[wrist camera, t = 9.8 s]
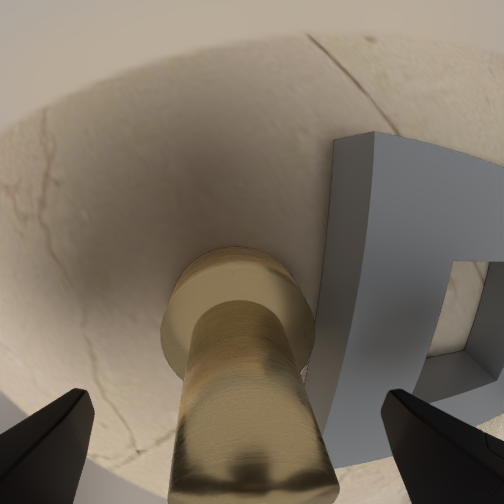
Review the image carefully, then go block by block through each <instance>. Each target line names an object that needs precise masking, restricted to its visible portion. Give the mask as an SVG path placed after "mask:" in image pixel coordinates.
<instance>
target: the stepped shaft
mask: <svg viewBox="0 0 504 504" xmlns="http://www.w3.org/2000/svg"><path fill="white" fill-rule="evenodd" d="M315 335H316V330H315V322H314V317H313V314H312V311H311V309H310V307H309V305H308V303H307V302H306V300H305V298H304V296H303V295H302V293H301V291H300V290H299V288H298V286H297V285H296V283H295V281H294V280H293V278H292V276H291V274H290V273H289V272H288V270H287V269H286V268H285V267H284V266H283V265H282V264H281V263H280V262H279V261H278V260H276V259H275V258H273V257H272V256H270V255H268V254H266V253H265V252H262V251H259V250H256V249H252V248H248V247H225V248H220V249H216V250H213V251H210V252H208V253H206V254H204V255H202V256H201V257H199V258H197V259H196V260H195V261H193V262H192V263H191V264H190V265H189V266H188V267H187V268H186V269H185V270H184V272H183V273H182V275H181V276H180V278H179V280H178V282H177V284H176V286H175V288H174V291H173V293H172V296H171V298H170V301H169V303H168V306H167V308H166V311H165V313H164V317H163V320H162V324H161V344H162V349H163V352H164V355H165V357H166V359H167V361H168V363H169V365H170V366H171V368H172V369H173V371H174V372H175V373H176V374H177V375H178V376H179V377H180V378H181V379H182V380H183V381H184V383H183V390H182V396H181V402H180V409H179V415H178V422H177V429H176V436H175V443H174V451H173V458H172V466H171V474H170V482H169V491H168V500H167V501H168V504H332V503H333V502H334V501H335V500H336V498H337V497H338V494H339V490H340V487H339V483H338V480H337V477H336V474H335V471H334V468H333V466H332V463H331V460H330V457H329V454H328V451H327V449H326V446H325V443H324V440H323V437H322V434H321V431H320V429H319V426H318V423H317V420H316V417H315V414H314V412H313V409H312V406H311V403H310V400H309V397H308V395H307V392H306V389H305V386H304V383H303V381H302V378H301V375H300V372H301V370H302V369H303V368H304V366H305V365H306V363H307V361H308V360H309V358H310V356H311V353H312V351H313V347H314V343H315Z"/></svg>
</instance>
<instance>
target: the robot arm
mask: <svg viewBox="0 0 504 504" xmlns="http://www.w3.org/2000/svg"><path fill="white" fill-rule="evenodd" d="M94 415H95V412H94V408H93V405H92V402H91V399H90V396H89V393H88V391H87V390H84V389H79V388H74V389H72V390H70V391H69V392H67V393H66V394H64V395H63V396H61V397H59V398H58V399H56V400H55V401H53V402H51V403H50V404H48V405H47V406H45V407H44V408H42V409H40V410H39V411H37V412H36V413H34V414H32V415H31V416H29V417H28V418H26V419H24V420H23V421H21V422H20V423H18V424H16V425H15V426H13V427H11V428H10V429H8V430H7V431H5V432H3V433H2V434H0V504H73V501H74V497H75V494H76V490H77V487H78V483H79V480H80V476H81V473H82V470H83V466H84V463H85V460H86V456H87V451H88V446H89V440H90V435H91V430H92V426H93V421H94ZM381 418H382V421H383V424H384V428H385V431H386V435H387V438H388V442H389V445H390V449H391V452H392V455H393V457H394V460H395V462H396V465H397V467H398V470H399V472H400V474H401V477H402V479H403V482H404V484H405V487H406V490H407V492H408V495H409V497H410V500H411V502H412V504H504V441H502V440H500V439H498V438H496V437H494V436H492V435H490V434H488V433H485V432H483V431H481V430H479V429H477V428H475V427H473V426H471V425H469V424H467V423H465V422H463V421H461V420H459V419H458V418H456V417H454V416H452V415H450V414H448V413H446V412H444V411H442V410H440V409H438V408H436V407H435V406H433V405H431V404H429V403H427V402H425V401H423V400H421V399H420V398H418V397H416V396H414V395H412V394H410V393H408V392H407V391H405V390H403V389H401V388H398V389H392V390H389V391H388V392H387V394H386V397H385V400H384V402H383V405H382V407H381Z"/></svg>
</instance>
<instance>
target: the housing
mask: <svg viewBox="0 0 504 504" xmlns="http://www.w3.org/2000/svg"><path fill="white" fill-rule="evenodd" d="M453 261H490V265H489V269H488V274H487V278H486V282H485V286H484V290H483V293H482V297H481V301H480V304H479V308H478V311H477V314H476V317H475V321H474V324H473V327H472V330H471V333H470V335H469V338H468V341H467V344H466V347H465V349H464V351H459V352H455V353H450V354H445V355H440V356H435V357H430V358H426V356H427V353H428V351H429V348H430V345H431V342H432V339H433V335H434V332H435V329H436V326H437V322H438V319H439V316H440V312H441V308H442V305H443V301H444V297H445V293H446V289H447V285H448V281H449V276H450V272H451V267H452V262H453ZM315 330H316V335H315V343H314V347H313V351H312V353H311V356H310V358H309V364H308V369H307V375H306V380H305V385H304V386H305V389H306V392H307V395H308V397H309V400H310V403H311V406H312V409H313V412H314V414H315V417H316V420H317V423H318V426H319V429H320V431H321V434H322V437H323V440H324V443H325V446H326V449H327V451H328V454H329V457H330V460H331V463H332V466H333V468H334V469H335V468H341V467H346V466H351V465H356V464H361V463H366V462H370V461H374V460H378V459H382V458H386V457H390V456H393V455H392V452H391V449H390V445H389V442H388V438H387V435H386V431H385V428H384V424H383V421H382V418H381V407H382V405H383V402H384V400H385V397H386V394H387V392H388V391H389V390H392V389H398V388H401V389H403V390H405V391H407V392H408V393H410V394H412V395H414V396H416V397H418V398H420V399H421V400H423V401H425V402H427V403H429V404H431V405H433V406H435V407H436V408H438V409H440V410H442V411H444V412H446V413H448V414H450V415H452V416H454V417H456V418H458V419H459V420H461V421H463V422H465V423H467V424H469V425H471V426H473V427H475V426H477V425H480V424H482V423H484V422H486V421H488V420H490V419H492V418H494V417H496V416H498V415H500V414H502V413H504V167H502V166H500V165H497V164H494V163H491V162H489V161H486V160H483V159H480V158H477V157H474V156H470V155H467V154H464V153H461V152H458V151H454V150H451V149H447V148H444V147H440V146H437V145H433V144H429V143H425V142H421V141H417V140H413V139H409V138H404V137H400V136H396V135H391V134H386V133H381V132H376V131H373V132H368V133H364V134H359V135H354V136H350V137H345V138H341V139H336V140H334V148H333V165H332V180H331V193H330V205H329V216H328V227H327V236H326V246H325V255H324V263H323V271H322V279H321V287H320V294H319V301H318V308H317V315H316V322H315Z"/></svg>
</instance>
